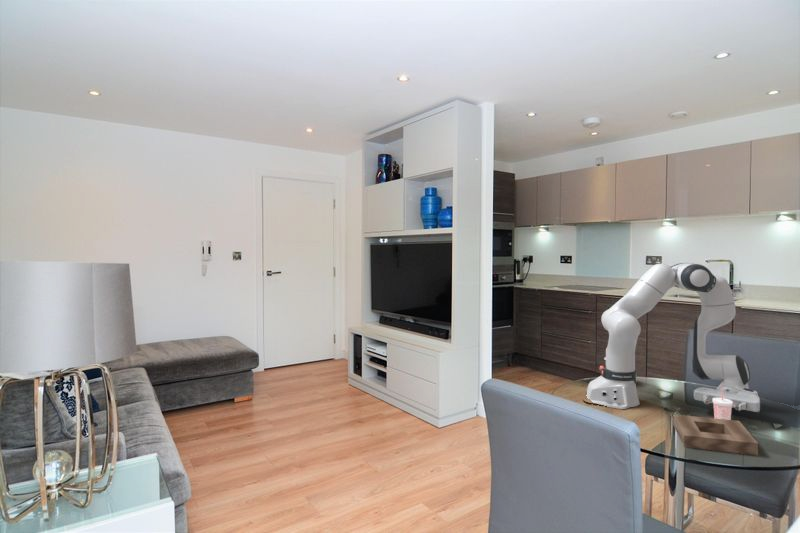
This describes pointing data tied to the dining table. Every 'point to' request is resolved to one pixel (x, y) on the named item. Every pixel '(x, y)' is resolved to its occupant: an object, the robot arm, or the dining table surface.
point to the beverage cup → (722, 408)
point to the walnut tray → (714, 434)
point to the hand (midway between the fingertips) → (721, 405)
